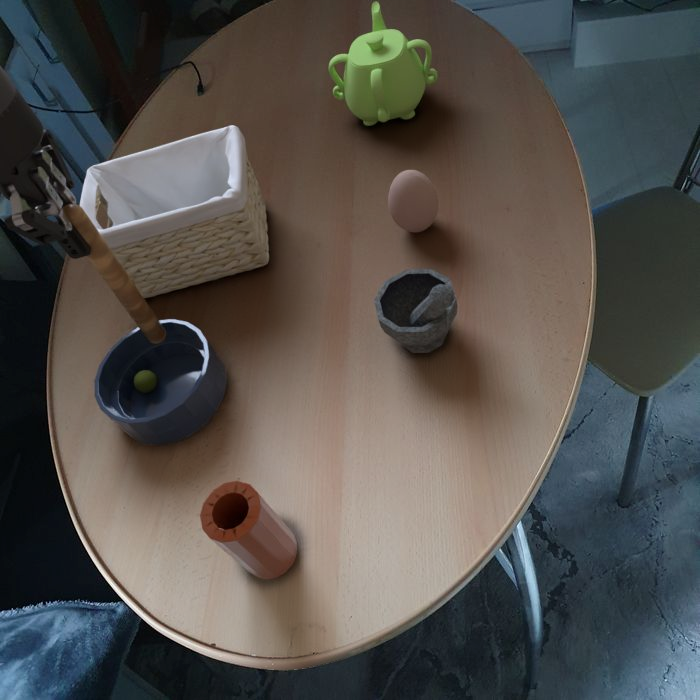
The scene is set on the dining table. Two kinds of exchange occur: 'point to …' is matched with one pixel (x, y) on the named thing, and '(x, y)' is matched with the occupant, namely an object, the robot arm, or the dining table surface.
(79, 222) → the stick
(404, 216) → the egg
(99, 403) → the bowl
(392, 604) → the dining table surface
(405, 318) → the mortar and pestle
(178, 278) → the basket
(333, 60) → the teapot
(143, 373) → the olive
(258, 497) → the crock
